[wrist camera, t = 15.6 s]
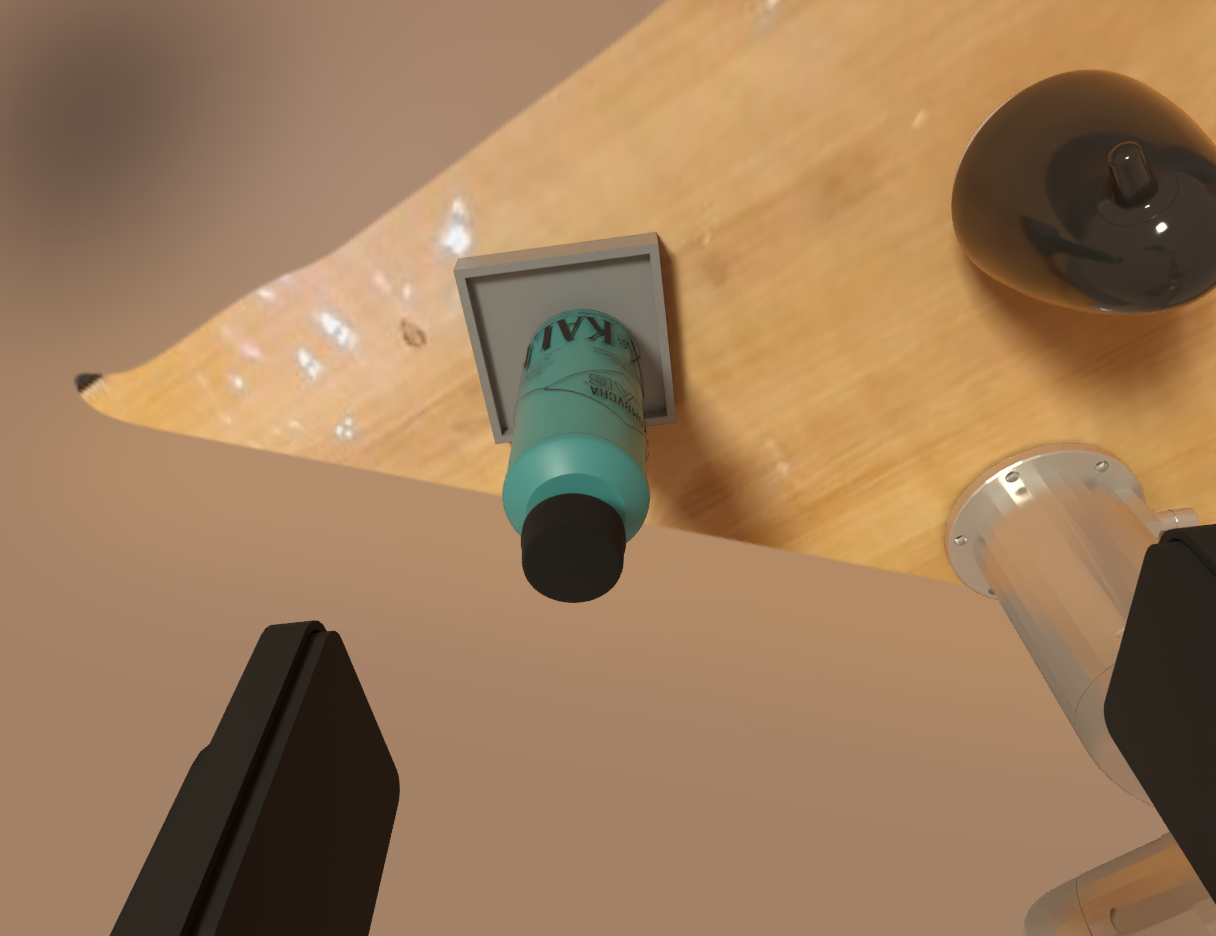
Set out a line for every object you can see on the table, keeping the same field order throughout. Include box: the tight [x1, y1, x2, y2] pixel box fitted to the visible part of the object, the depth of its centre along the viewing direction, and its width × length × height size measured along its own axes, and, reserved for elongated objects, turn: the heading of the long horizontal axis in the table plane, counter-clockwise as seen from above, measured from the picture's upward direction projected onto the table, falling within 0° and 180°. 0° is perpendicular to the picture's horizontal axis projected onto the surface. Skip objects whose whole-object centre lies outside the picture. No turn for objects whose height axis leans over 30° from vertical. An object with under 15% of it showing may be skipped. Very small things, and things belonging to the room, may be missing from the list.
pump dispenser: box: [951, 70, 1216, 317], centre depth 38 cm, size 10×10×15 cm
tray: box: [454, 232, 677, 444], centre depth 49 cm, size 11×11×2 cm
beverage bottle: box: [502, 309, 650, 603], centre depth 40 cm, size 6×7×20 cm
